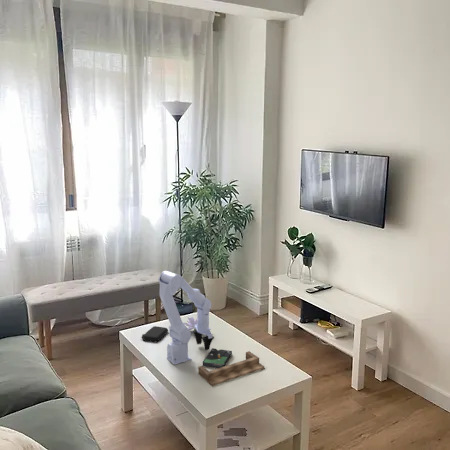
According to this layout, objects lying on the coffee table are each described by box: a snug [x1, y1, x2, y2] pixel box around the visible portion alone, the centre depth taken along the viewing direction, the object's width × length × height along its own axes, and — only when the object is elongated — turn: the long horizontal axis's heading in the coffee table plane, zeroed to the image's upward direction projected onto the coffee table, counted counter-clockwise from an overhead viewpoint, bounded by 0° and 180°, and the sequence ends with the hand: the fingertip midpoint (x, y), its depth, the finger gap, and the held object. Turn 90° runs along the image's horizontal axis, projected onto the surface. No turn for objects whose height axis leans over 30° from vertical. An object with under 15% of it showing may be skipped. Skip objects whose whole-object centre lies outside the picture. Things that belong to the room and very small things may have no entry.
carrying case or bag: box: [141, 325, 169, 343], centre depth 247 cm, size 11×3×15 cm
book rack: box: [197, 350, 265, 387], centre depth 211 cm, size 28×12×4 cm, turn 123°
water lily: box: [182, 316, 197, 337], centre depth 249 cm, size 15×15×9 cm
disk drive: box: [202, 348, 233, 369], centre depth 221 cm, size 10×3×15 cm
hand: (203, 346), depth 232 cm, fingers open, 7 cm apart
